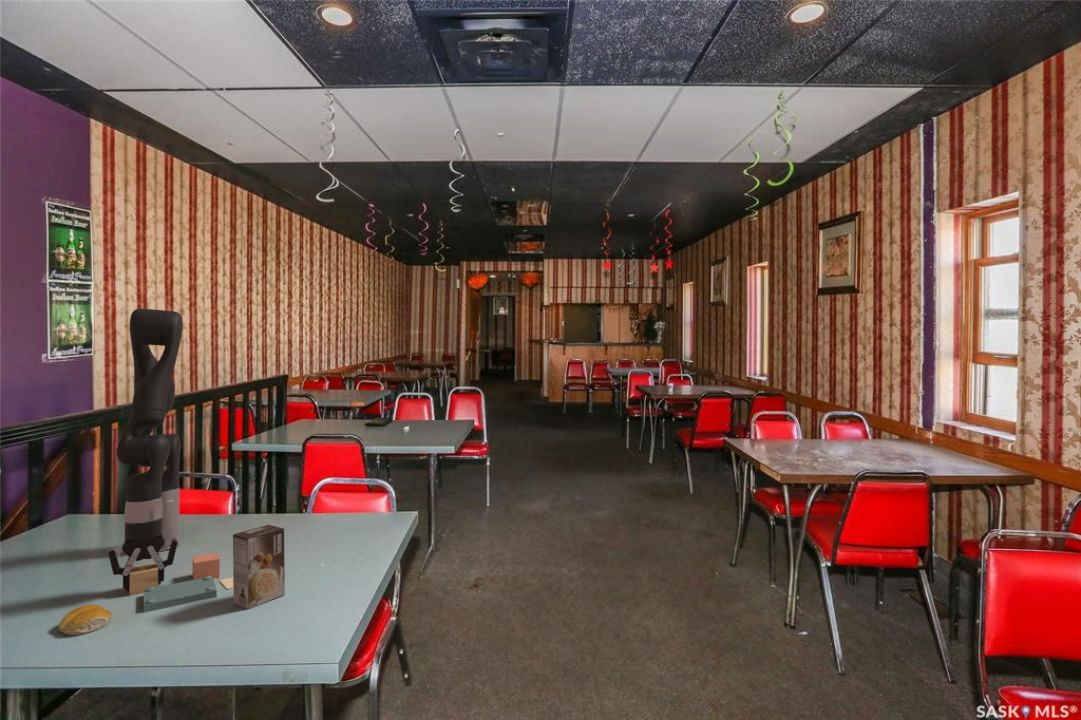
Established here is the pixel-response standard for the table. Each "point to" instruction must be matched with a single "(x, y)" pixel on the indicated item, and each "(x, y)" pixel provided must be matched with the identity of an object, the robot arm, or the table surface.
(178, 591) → the board
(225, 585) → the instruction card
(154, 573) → the oak brick
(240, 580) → the coffee box
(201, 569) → the terracotta brick
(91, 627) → the bread roll
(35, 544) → the table surface
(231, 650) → the table surface
